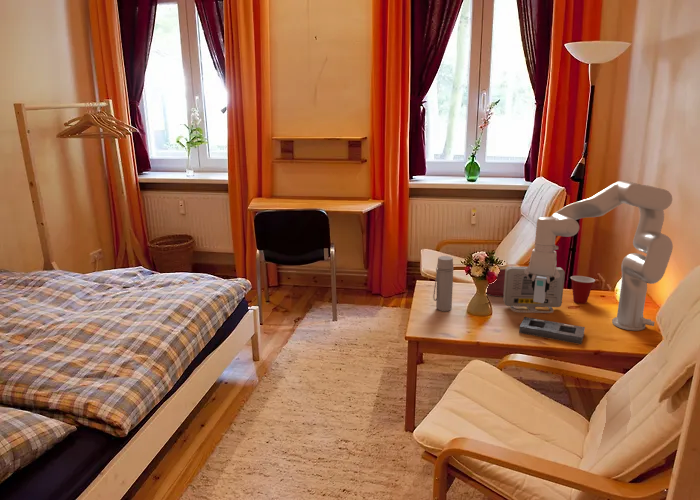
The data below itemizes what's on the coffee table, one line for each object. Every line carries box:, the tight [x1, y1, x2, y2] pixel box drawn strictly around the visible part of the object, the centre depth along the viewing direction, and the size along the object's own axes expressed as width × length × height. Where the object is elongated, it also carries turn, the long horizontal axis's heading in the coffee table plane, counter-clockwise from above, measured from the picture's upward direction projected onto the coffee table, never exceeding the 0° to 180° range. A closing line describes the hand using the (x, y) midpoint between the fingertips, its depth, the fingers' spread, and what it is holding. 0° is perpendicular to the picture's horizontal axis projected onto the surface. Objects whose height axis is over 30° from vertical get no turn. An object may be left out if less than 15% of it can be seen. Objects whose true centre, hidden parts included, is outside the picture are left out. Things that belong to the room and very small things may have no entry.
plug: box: [533, 276, 547, 303], centre depth 210 cm, size 4×5×10 cm
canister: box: [486, 258, 511, 297], centre depth 258 cm, size 13×13×18 cm
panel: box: [518, 316, 585, 345], centre depth 213 cm, size 24×11×3 cm, turn 61°
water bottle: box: [432, 255, 454, 312], centre depth 236 cm, size 9×8×25 cm
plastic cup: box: [570, 275, 596, 305], centre depth 245 cm, size 11×11×12 cm
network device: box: [502, 266, 566, 314], centre depth 236 cm, size 26×9×20 cm, turn 84°
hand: (540, 289), depth 211 cm, fingers closed on plug, 4 cm apart
